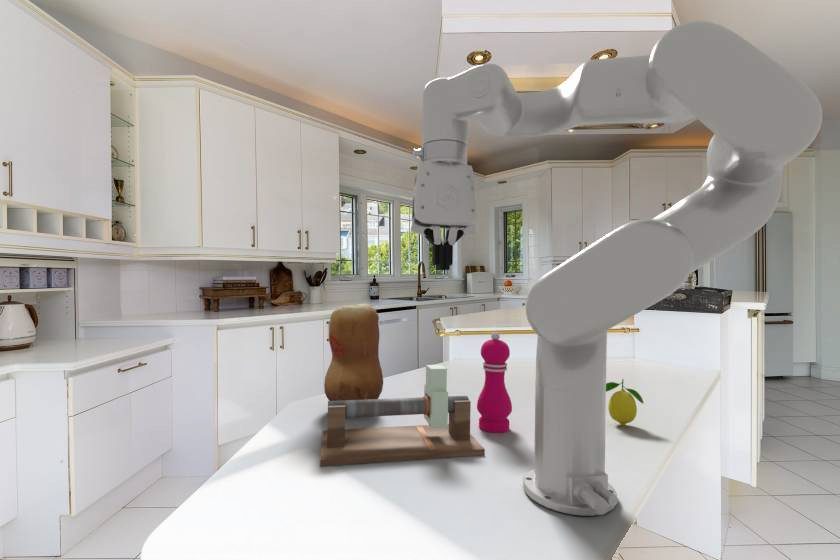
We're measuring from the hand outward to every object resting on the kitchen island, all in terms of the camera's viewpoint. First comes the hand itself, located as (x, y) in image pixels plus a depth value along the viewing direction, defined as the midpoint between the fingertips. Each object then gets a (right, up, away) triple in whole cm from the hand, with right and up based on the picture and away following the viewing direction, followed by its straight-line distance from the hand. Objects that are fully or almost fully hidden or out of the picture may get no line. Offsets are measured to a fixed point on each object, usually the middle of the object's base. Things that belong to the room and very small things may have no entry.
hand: (442, 269), depth 69 cm
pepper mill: (+12, -33, +19) cm, 39 cm away
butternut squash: (-19, -32, +28) cm, 47 cm away
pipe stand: (-8, -32, +8) cm, 34 cm away
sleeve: (-1, -28, +10) cm, 30 cm away
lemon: (+40, -33, +21) cm, 56 cm away
